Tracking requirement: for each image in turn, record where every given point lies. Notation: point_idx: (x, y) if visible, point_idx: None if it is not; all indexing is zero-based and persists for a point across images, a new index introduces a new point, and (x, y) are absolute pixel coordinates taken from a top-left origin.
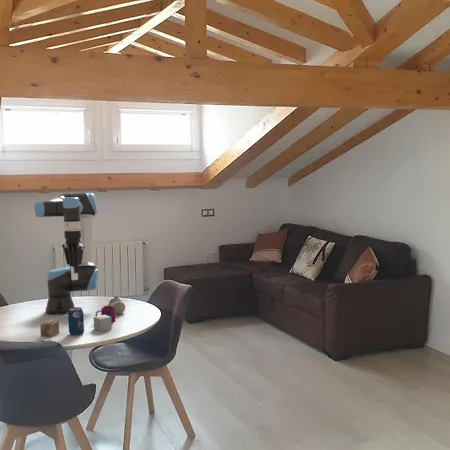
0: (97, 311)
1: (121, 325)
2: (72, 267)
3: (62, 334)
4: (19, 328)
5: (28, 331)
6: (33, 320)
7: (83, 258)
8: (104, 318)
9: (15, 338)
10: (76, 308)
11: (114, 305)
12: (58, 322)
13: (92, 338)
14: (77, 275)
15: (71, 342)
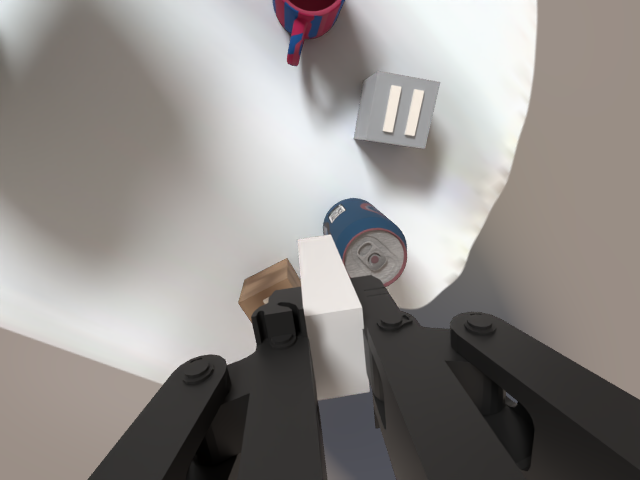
0: (297, 50)
1: (415, 18)
2: (352, 384)
3: None
4: (100, 313)
5: (170, 312)
6: (6, 218)
7: None
8: (430, 123)
9: None
10: (356, 240)
11: None
12: (288, 276)
13: (441, 221)
14: (336, 253)
15: (413, 289)
